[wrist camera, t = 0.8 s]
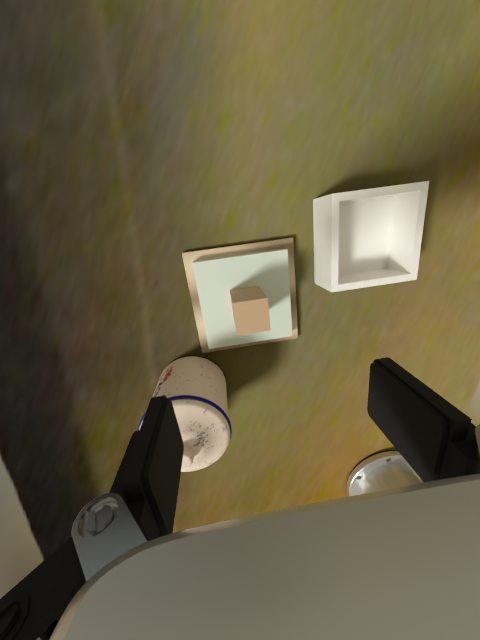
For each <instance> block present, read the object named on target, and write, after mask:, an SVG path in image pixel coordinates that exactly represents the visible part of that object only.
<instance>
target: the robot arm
mask: <svg viewBox="0 0 480 640" xmlns="http://www.w3.org/2000/svg"><path fill="white" fill-rule="evenodd" d="M367 409H368V414H369V416H370V417H371V419H372V420H373V421H374V422H375V423H376V425H377V426H378V427H379V428H380V430H381V431H382V432H383V433H384V434H385V436H386V437H387V438H388V439H389V441H390V442H391V443H392V444H393V445H394V447H395V448H396V449H397V450H398V451H387V452H382V453H378V454H375V455H373V456H371V457H369V458H367V459H365V460H364V461H362V462H361V463H360V464H359V465H357V466H356V468H355V469H354V470H353V471H352V473H351V474H350V476H349V478H348V481H347V492H348V494H349V496H350V497H345V498H339V499H334V500H329V501H324V502H319V503H314V504H308V505H303V506H298V507H293V508H288V509H283V510H278V511H273V512H268V513H263V514H258V515H253V516H248V517H243V518H238V519H233V520H228V521H223V522H219V523H214V524H210V525H205V526H201V527H196V528H191V529H187V530H183V531H179V532H175V533H172V531H173V524H174V517H175V510H176V503H177V495H178V488H179V481H180V474H181V467H182V459H183V452H184V444H183V440H182V436H181V433H180V429H179V426H178V422H177V419H176V415H175V412H174V408H173V405H172V401H171V399H170V398H167V397H166V396H165V395H163V396H157V397H152V398H151V401H150V403H149V406H148V409H147V411H146V414H145V417H144V419H143V422H142V425H141V427H140V430H139V431H135V432H134V433H133V435H132V437H131V440H130V442H129V445H128V447H127V450H126V452H125V455H124V457H123V460H122V462H121V465H120V467H119V470H118V472H117V475H116V477H115V480H114V482H113V485H112V487H111V490H110V493H105V494H102V495H100V496H98V497H96V498H95V499H93V500H92V501H90V502H89V503H88V504H87V505H86V506H85V507H84V508H83V509H82V510H81V512H80V513H79V514H78V516H77V518H76V520H75V521H74V524H73V528H72V537H71V538H70V539H68V540H67V541H66V542H65V543H64V544H63V545H62V546H60V547H59V548H58V549H57V550H56V551H55V552H54V553H52V554H51V555H50V556H49V557H48V558H47V559H46V560H44V561H43V562H42V563H41V564H40V565H39V566H38V567H36V568H35V569H34V570H33V571H32V572H31V573H30V574H28V575H27V576H26V577H25V578H24V579H23V580H22V581H20V582H19V583H18V584H17V585H16V586H15V587H14V588H12V589H11V590H10V591H9V592H8V593H7V594H6V595H4V596H3V597H2V598H1V599H0V640H480V425H478V426H477V427H476V426H474V425H473V424H472V423H471V419H470V418H469V417H468V416H466V415H465V414H464V413H462V412H461V411H460V410H458V409H457V408H456V407H454V406H453V405H452V404H450V403H449V402H448V401H446V400H445V399H444V398H442V397H441V396H440V395H438V394H437V393H436V392H434V391H433V390H432V389H430V388H429V387H428V386H426V385H425V384H424V383H422V382H421V381H420V380H418V379H417V378H416V377H414V376H413V375H412V374H410V373H409V372H407V371H406V370H405V369H403V368H402V367H401V366H399V365H398V364H397V363H395V362H394V361H393V360H391V359H390V358H381V359H376V360H374V362H373V363H372V364H371V366H370V379H369V394H368V408H367ZM421 480H422V481H423V482H424V483H422V482H421Z"/></svg>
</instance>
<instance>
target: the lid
mask: <svg viewBox="0 0 480 640" xmlns="http://www.w3.org/2000/svg"><path fill="white" fill-rule="evenodd" d="M192 265H193V270H194V275H195V280H196V285H197V291H198V296H199V301H200V306H201V311H202V316H203V322H204V327H205V332H206V337H207V342H208V348H209V349H213V348H219V347H225V346H232V345H238V344H245V343H251V342H257V341H264V340H270V339H277V338H283V337H289V336H292V319H291V301H290V283H289V266H288V249H278V250H271V251H264V252H256V253H249V254H242V255H235V256H228V257H221V258H214V259H207V260H200V261H193V262H192Z"/></svg>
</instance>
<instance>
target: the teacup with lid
mask: <svg viewBox="0 0 480 640" xmlns="http://www.w3.org/2000/svg"><path fill="white" fill-rule="evenodd" d="M163 395H165V396H166V397H167V398H170V399H171V401H172V405H173V408H174V412H175V415H176V419H177V422H178V426H179V429H180V433H181V436H182V440H183V444H184V452H183V459H182V467H181V472H189V471H195V470H199V469H202V468H205V467H207V466H209V465H211V464H212V463H214V462H215V461H217V460H218V459H219V458H220V457H221V456H222V455H223V453H224V452H225V450H226V449H227V447H228V444H229V442H230V439H231V424H230V421H229V418H228V406H227V391H226V380H225V377H224V374H223V372H222V371H221V369H220V368H219V367H218V366H217V365H216V364H214V363H213V362H211V361H210V360H207V359H205V358H201V357H194V356H191V357H183V358H180V359H177V360H175V361H173V362H172V363H170V364H169V365H168V366H167V367H166V368H165V369H164V370H163V372H162V374H161V376H160V378H159V381H158V384H157V386H156V389H155V392H154V394H153V397H157V396H163ZM145 414H146V413H145ZM145 414H144V415H143V417H142V419H141V421H140V424H139V428H138V431H139V430H140V427H141V425H142V422H143V419H144V417H145Z"/></svg>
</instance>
